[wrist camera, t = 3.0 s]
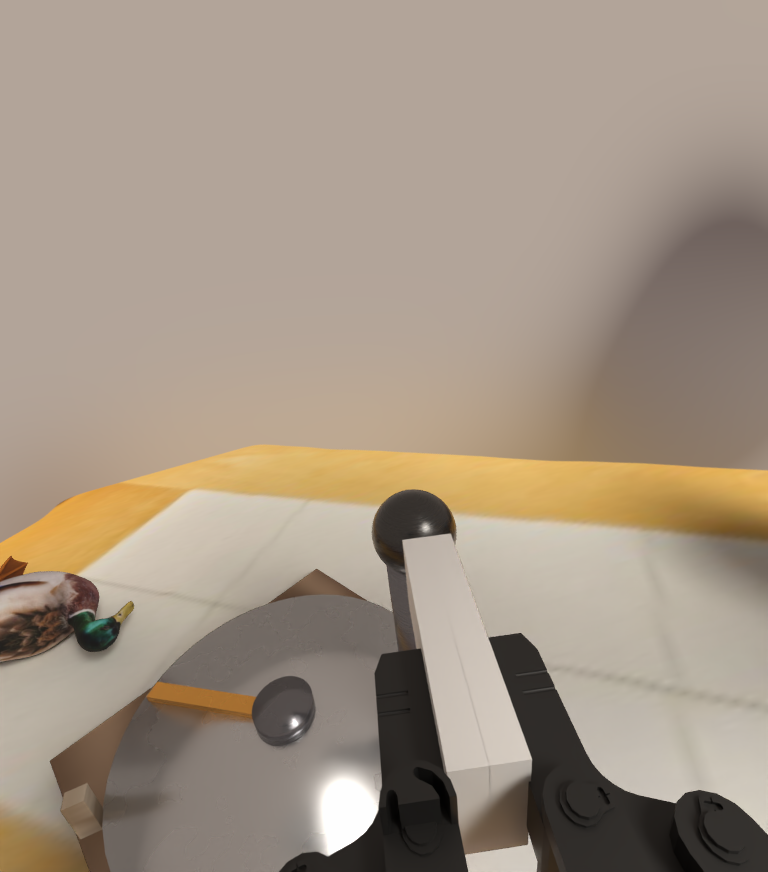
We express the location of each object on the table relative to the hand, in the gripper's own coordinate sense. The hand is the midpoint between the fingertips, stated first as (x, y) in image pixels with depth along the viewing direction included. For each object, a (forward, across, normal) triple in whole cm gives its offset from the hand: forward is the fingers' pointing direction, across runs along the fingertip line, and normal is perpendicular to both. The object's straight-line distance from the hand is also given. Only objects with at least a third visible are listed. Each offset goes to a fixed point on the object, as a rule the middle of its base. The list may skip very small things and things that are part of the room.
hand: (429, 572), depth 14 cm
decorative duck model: (+21, -34, -23) cm, 46 cm away
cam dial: (+9, -9, -21) cm, 24 cm away
